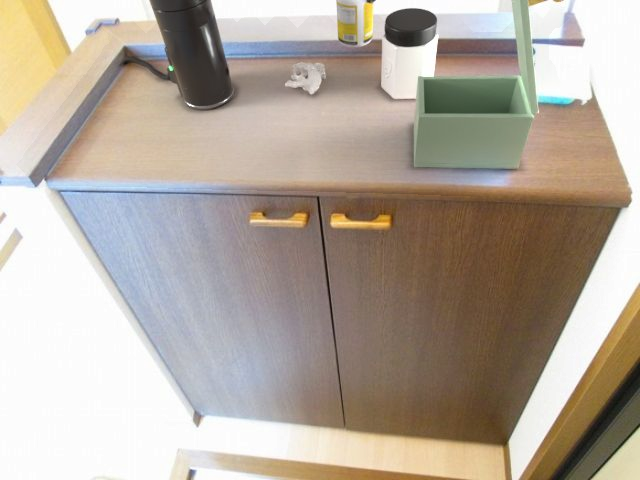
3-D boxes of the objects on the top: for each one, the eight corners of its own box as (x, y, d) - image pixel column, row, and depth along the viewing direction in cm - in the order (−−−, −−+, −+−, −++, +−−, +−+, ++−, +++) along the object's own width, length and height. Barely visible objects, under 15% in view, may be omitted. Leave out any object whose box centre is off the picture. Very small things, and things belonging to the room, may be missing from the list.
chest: (414, 167, 68) (418, 116, 62) (413, 125, 75) (417, 76, 68) (517, 169, 66) (534, 117, 59) (508, 126, 72) (522, 75, 66)
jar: (373, 82, 84) (374, 15, 75) (412, 69, 86) (417, 2, 76) (399, 106, 78) (403, 37, 69) (440, 92, 80) (449, 23, 71)
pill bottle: (372, 31, 89) (374, -35, 80) (372, 48, 84) (373, -20, 76) (338, 32, 89) (336, -33, 80) (336, 49, 85) (334, -18, 76)
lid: (519, -3, 49) (574, -21, 47) (506, -39, 55) (554, -57, 53) (531, 115, 59) (577, 103, 57) (519, 73, 66) (560, 61, 64)
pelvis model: (291, 54, 85) (326, 51, 84) (296, 75, 89) (330, 73, 87) (282, 77, 80) (319, 74, 79) (287, 98, 83) (323, 96, 82)
